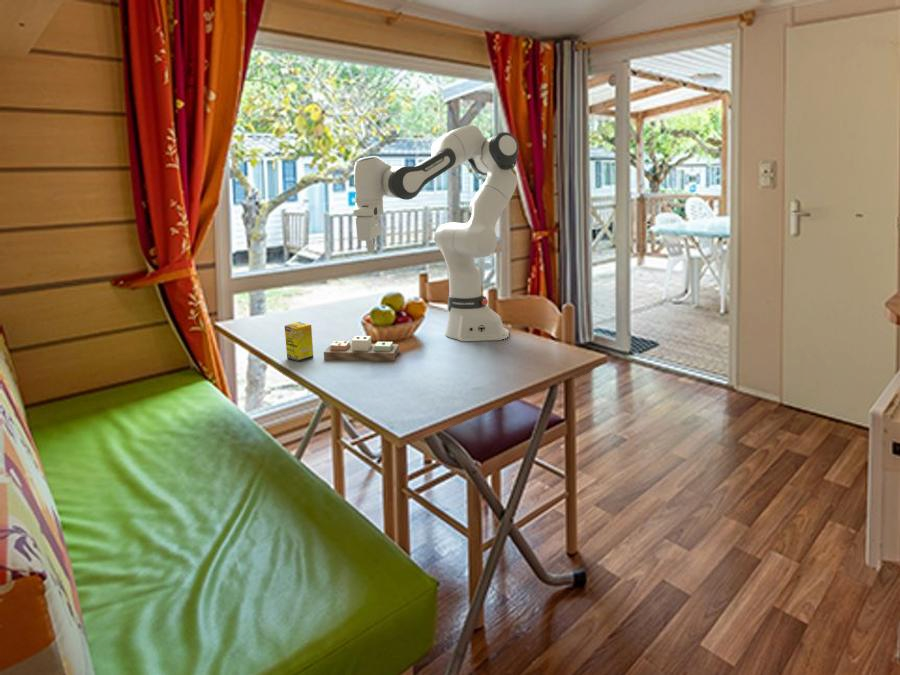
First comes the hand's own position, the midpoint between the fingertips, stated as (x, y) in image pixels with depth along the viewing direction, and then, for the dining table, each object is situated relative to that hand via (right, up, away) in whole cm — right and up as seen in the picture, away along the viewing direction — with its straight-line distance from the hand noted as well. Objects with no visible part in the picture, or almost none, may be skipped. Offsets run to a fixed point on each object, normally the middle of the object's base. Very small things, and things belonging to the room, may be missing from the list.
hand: (371, 251), depth 205 cm
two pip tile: (-2, -32, -6) cm, 33 cm away
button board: (-2, -34, -6) cm, 34 cm away
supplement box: (-21, -35, -8) cm, 42 cm away
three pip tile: (-9, -34, -5) cm, 35 cm away
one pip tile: (+5, -34, -6) cm, 35 cm away
